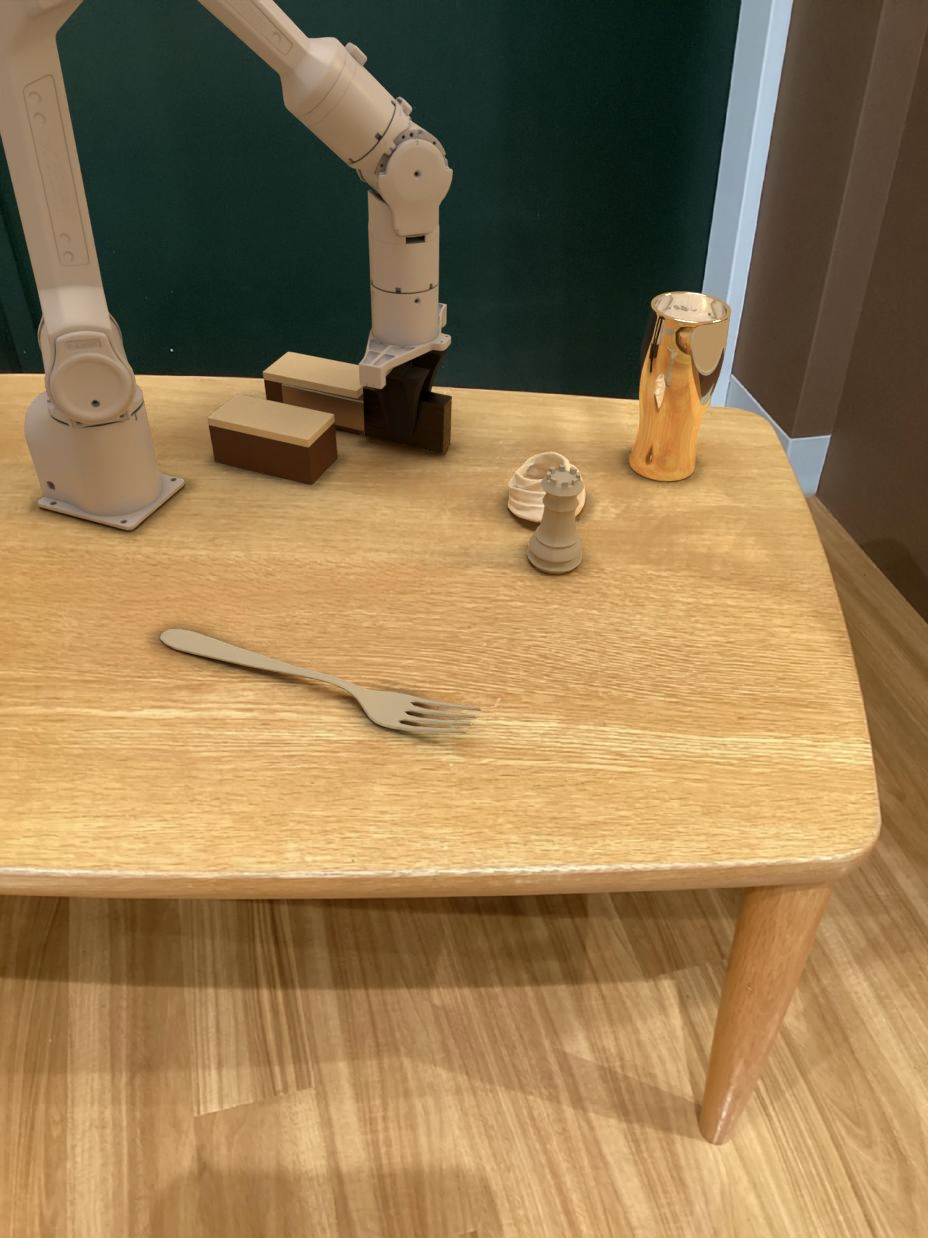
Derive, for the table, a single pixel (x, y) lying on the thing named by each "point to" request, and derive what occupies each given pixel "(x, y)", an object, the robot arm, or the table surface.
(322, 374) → the cake slice
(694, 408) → the copper metal vase
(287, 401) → the two-tone wooden slat
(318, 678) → the fork
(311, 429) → the cake
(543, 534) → the rook chess piece
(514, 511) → the white ruffled curved piece
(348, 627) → the table surface
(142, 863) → the table surface
